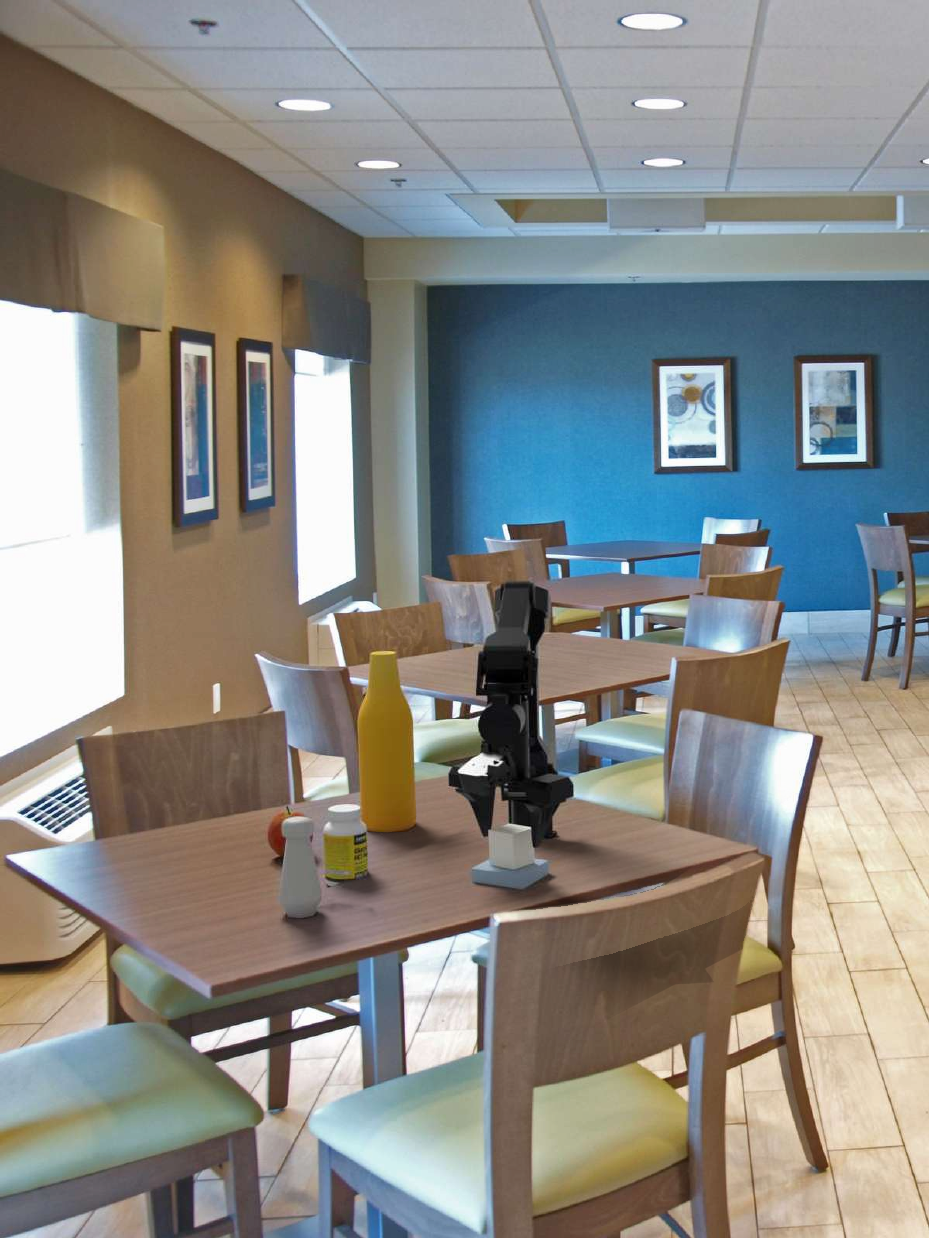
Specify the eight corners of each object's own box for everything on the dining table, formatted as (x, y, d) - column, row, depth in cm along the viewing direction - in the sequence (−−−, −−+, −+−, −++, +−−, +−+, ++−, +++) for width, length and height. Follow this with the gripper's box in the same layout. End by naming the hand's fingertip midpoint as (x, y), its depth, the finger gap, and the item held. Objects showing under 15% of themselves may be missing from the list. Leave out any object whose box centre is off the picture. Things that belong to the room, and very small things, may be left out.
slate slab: (471, 882, 192) (471, 868, 191) (499, 867, 199) (498, 853, 198) (522, 889, 188) (522, 875, 187) (548, 874, 195) (548, 860, 194)
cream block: (489, 864, 193) (488, 829, 192) (510, 857, 196) (509, 823, 196) (514, 869, 190) (512, 834, 189) (534, 862, 193) (533, 827, 193)
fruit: (322, 852, 213) (320, 802, 212) (298, 864, 207) (296, 812, 206) (284, 848, 216) (282, 798, 215) (259, 860, 210) (257, 809, 209)
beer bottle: (427, 822, 230) (422, 650, 227) (395, 835, 222) (389, 657, 219) (382, 816, 235) (376, 647, 232) (349, 828, 227) (343, 655, 224)
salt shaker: (280, 907, 187) (276, 813, 186) (322, 905, 188) (319, 811, 186) (278, 921, 181) (274, 824, 180) (322, 918, 182) (318, 822, 180)
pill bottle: (362, 890, 194) (359, 813, 192) (319, 888, 195) (316, 812, 194) (373, 877, 200) (371, 802, 198) (332, 875, 201) (330, 801, 200)
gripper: (419, 734, 191) (423, 843, 193) (522, 750, 179) (525, 866, 180) (473, 721, 199) (476, 826, 201) (575, 736, 187) (577, 848, 189)
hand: (510, 841), depth 193 cm, fingers open, 9 cm apart
